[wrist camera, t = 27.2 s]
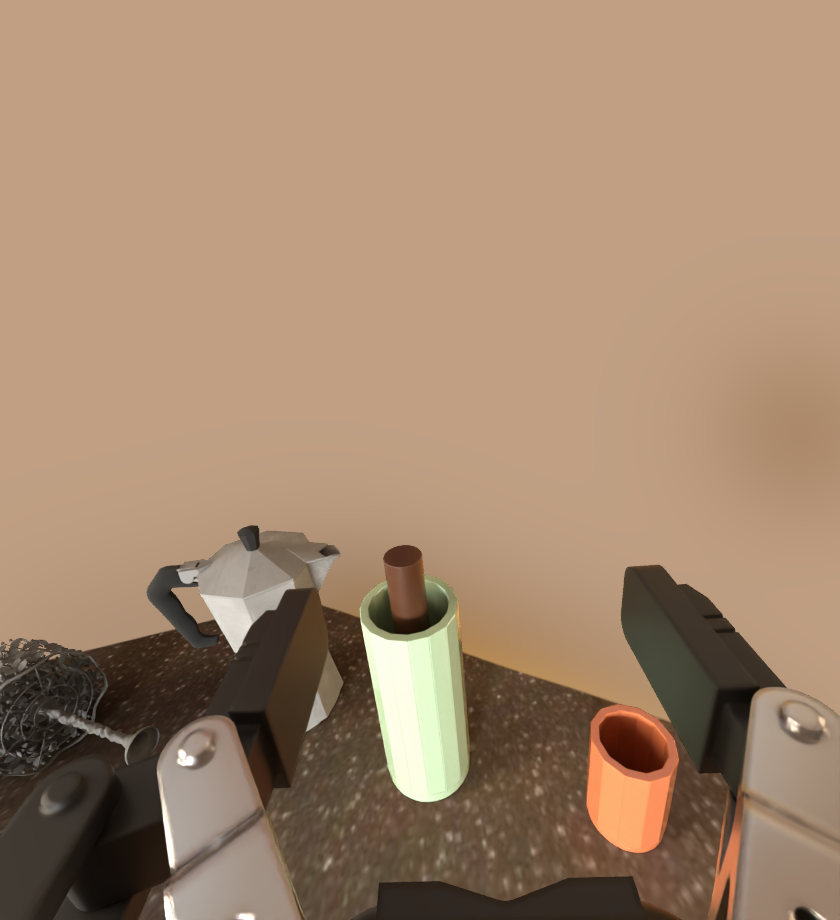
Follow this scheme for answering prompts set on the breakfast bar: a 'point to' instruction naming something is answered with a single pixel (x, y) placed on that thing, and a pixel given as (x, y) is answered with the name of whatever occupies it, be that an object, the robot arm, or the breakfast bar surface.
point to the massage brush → (53, 707)
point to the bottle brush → (406, 589)
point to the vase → (420, 693)
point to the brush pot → (630, 777)
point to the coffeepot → (249, 592)
